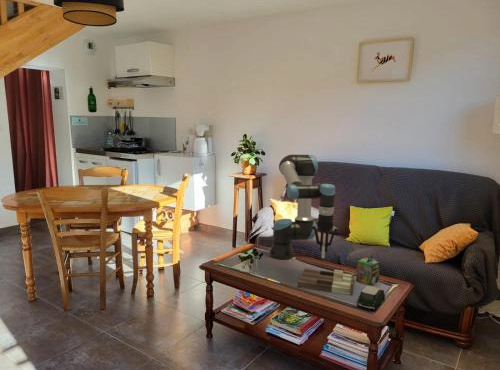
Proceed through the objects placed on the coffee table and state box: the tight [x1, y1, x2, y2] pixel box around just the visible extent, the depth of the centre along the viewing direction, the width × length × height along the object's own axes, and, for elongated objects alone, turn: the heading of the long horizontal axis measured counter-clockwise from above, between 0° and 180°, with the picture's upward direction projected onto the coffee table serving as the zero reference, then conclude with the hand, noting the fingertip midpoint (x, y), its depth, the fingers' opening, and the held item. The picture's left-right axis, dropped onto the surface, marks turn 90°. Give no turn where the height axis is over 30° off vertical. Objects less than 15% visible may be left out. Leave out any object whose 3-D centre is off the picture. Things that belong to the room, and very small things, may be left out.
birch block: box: [333, 269, 344, 282], centre depth 200 cm, size 4×4×4 cm
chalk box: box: [355, 254, 381, 286], centre depth 207 cm, size 9×9×15 cm
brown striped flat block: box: [297, 268, 356, 296], centre depth 202 cm, size 20×27×6 cm
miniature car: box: [356, 285, 386, 311], centre depth 181 cm, size 9×18×8 cm, turn 146°
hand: (323, 257), depth 202 cm, fingers closed
